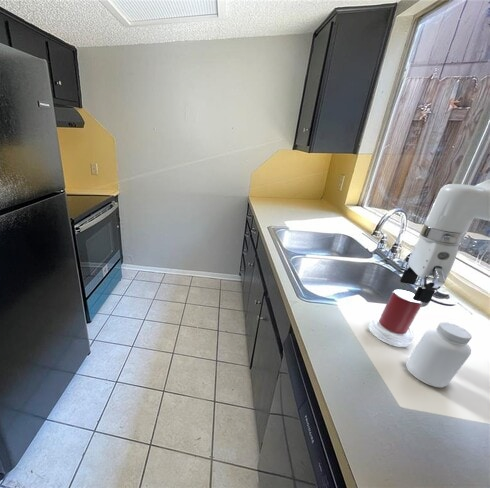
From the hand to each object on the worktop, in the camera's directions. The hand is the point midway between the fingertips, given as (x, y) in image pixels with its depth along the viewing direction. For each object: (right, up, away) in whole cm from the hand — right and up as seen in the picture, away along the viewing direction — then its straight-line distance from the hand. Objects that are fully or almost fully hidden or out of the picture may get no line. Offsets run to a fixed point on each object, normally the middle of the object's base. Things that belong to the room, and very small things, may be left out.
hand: (413, 291), depth 72 cm
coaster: (-1, -15, +7) cm, 16 cm away
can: (-1, -11, +5) cm, 13 cm away
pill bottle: (-2, -20, -6) cm, 21 cm away
